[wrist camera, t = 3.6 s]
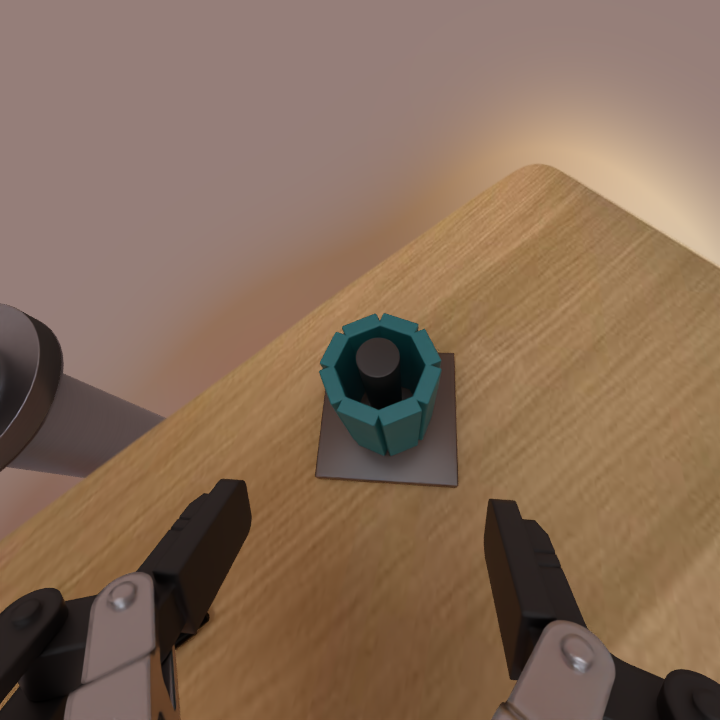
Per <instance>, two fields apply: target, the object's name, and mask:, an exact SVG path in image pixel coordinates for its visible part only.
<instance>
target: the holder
mask: <svg viewBox="0 0 720 720" xmlns="http://www.w3.org/2000/svg"><path fill="white" fill-rule="evenodd" d="M438 355H439V356H440V358H441V366H440V368H441V369H442V372H441V376H440V381H439V385H438V390H437V395H436V399H435V404H434V408H433V413H432V417H431V419H430V422H429V424H428V427H427V430H426V432H425V435H424V437H423V440H419V439H418V445H417V446H415V447H412V448H410V449H407V450H405V451H403V452H400V453H398V454H395V455H393V456H390V453H389V451H388V449H387V452H386V454H385V456H383V455H381V454H378V453H376V452H374V451H371V450H369V449H367V448H364V447H362V446H360V445H358V443H357V442H356V440H354V439H353V438H352V436H351V435H350V433H349V432H348V430H347V429H346V427H345V425H344V424H343V422H342V421H341V419H340V418H339V416H338V415H337V413H336V412H335V410H334V409H333V407H332V406H331V404H330V401H329V398H328V396H327V393H326V390H325V396H324V405H323V413H322V422H321V430H320V439H319V447H318V455H317V464H316V472H315V477H317V478H319V479H332V480H347V481H362V482H376V483H391V484H406V485H421V486H436V487H451V488H456V487H457V486H458V463H457V430H456V397H455V365H454V353H438ZM356 363H357V367H358V370H359V373H360V376H361V379H362V382H363V385H364V388H365V393H364V395H363V397H362V399H361V401H360V403H363V404H365V405H368V406H370V407H373V408H375V409H378V410H380V409H382V408H385V407H387V406H390V405H392V404H395V403H397V402H400V401H402V400H405V399H407V398H410V397H412V396H413V395H412V393H411V391H410V389H407V388H404V387H402V386H401V370H400V354H399V350H398V348H397V347H396V345H395V344H394V343H392V342H391V341H390V340H387V339H384V338H373V339H370V340H367V341H366V342H364V343H363V344H362V345H361V346H360V347H359V349H358V351H357V354H356Z"/></svg>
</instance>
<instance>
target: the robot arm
mask: <svg viewBox="0 0 720 720" xmlns="http://www.w3.org/2000/svg"><path fill="white" fill-rule="evenodd" d="M251 520H252V516H251V509H250V504H249V498H248V492H247V487H246V483H245V481H243V480H232V479H221V480H219V481H218V483H217V484H216V485H215V487H214V488H213V489H212V491H211V492H210V493H209V494H205V493H204V494H202V495H201V496H200V497H198V498H197V499H196V500H194V501H193V502H192V503H190V504H189V505H188V507H187V508H186V509H185V510H184V512H183V513H182V514H181V515H180V518H179V519H177V521H176V522H175V523H174V524H173V526H172V527H171V530H169V531H168V532H167V533H166V535H165V536H164V537H163V538H162V540H161V541H160V542H159V543H158V545H157V546H156V547H155V548H154V550H153V551H152V552H151V554H150V555H149V556H148V557H147V559H146V560H145V561H144V562H143V564H142V565H141V566H140V568H139V569H138V570H137V571H136V572H133V573H129V574H126V575H123V576H121V577H119V578H117V579H115V580H114V581H112V582H111V583H109V584H108V585H107V586H106V587H105V588H103V590H102V591H101V592H100V593H99V594H98V595H94V596H89V597H84V598H79V599H74V600H69V601H64V599H63V597H62V595H61V593H60V591H59V590H57V589H55V588H44V589H39V590H36V591H33V592H31V593H29V594H27V595H25V596H23V597H21V598H19V599H18V600H16V601H15V602H13V603H12V604H11V605H9V606H8V607H7V608H6V609H5V610H4V611H3V612H1V613H0V703H1V702H2V701H3V700H4V698H5V697H6V696H7V695H8V693H9V692H10V691H11V690H12V688H13V687H14V686H15V685H16V683H17V682H18V684H19V685H20V686H19V688H18V689H17V690H16V691H15V693H14V694H13V695H12V697H11V698H10V699H9V700H8V702H7V703H6V704H5V705H4V707H3V708H2V709H1V710H0V720H181V717H180V705H179V692H178V679H177V667H176V654H175V647H174V643H175V642H176V640H177V638H178V636H179V635H180V633H181V632H182V633H189V634H196V632H197V630H198V628H199V627H200V625H201V623H202V621H203V619H204V617H205V615H206V613H207V611H208V609H209V608H210V606H211V604H212V602H213V600H214V598H215V596H216V594H217V592H218V591H219V589H220V587H221V585H222V583H223V581H224V579H225V577H226V575H227V573H228V572H229V570H230V568H231V566H232V564H233V562H234V560H235V558H236V556H237V554H238V553H239V551H240V549H241V547H242V545H243V543H244V541H245V539H246V537H247V535H248V533H249V530H250V527H251ZM484 552H485V559H486V564H487V569H488V574H489V579H490V584H491V589H492V593H493V598H494V603H495V608H496V613H497V618H498V623H499V628H500V632H501V637H502V642H503V647H504V652H505V657H506V662H507V667H508V671H509V676H510V679H511V680H518V681H517V683H516V685H515V687H514V689H513V691H512V692H511V694H510V696H509V698H508V700H507V701H506V702H505V703H504V702H502V703H501V704H500V706H499V707H498V709H497V710H496V712H495V714H494V716H493V717H492V719H491V720H720V684H718V683H717V682H715V681H713V680H712V679H710V678H708V677H706V676H704V675H702V674H700V673H697V672H694V671H690V670H684V669H679V670H674V671H671V672H670V673H669V674H668V675H667V676H666V678H665V679H663V678H661V677H658V676H656V675H654V674H651V673H649V672H647V671H644V670H642V669H639V668H637V667H635V666H632V665H630V664H628V663H626V662H624V661H622V660H620V659H619V658H617V657H615V656H614V655H613V654H611V653H610V652H609V651H608V649H607V648H606V647H605V645H604V644H603V643H602V642H601V641H600V639H599V638H598V637H597V636H595V635H594V634H593V633H592V632H590V631H589V630H588V628H587V626H586V624H585V622H584V620H583V617H582V615H581V613H580V610H579V608H578V605H577V603H576V601H575V598H574V596H573V593H572V591H571V589H570V586H569V584H568V582H567V579H566V577H565V574H564V572H563V570H562V569H561V565H560V562H559V560H558V558H557V555H555V550H554V548H553V546H552V543H551V541H550V538H549V536H548V534H547V533H546V532H545V531H544V530H543V529H542V528H541V527H540V525H539V524H538V523H537V522H536V521H535V520H525V519H522V517H521V515H520V512H519V509H518V506H517V504H516V502H515V501H513V500H499V499H489V501H488V507H487V515H486V524H485V532H484Z"/></svg>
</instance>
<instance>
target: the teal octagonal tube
mask: <svg viewBox="0 0 720 720" xmlns="http://www.w3.org/2000/svg"><path fill="white" fill-rule="evenodd" d="M342 329H343V332H344V334H341V333H338V332H336V333H335V334H334V336H333V338H332V340H331V342H330V344H329V346H328V348H327V350H326V352H325V354H324V356H323V358H322V359H321V361H320V364H321V366H322V368H323V369H322V370H320V371H319V373H320V376H321V379H322V382H323V384H324V387H325V390H326V393H327V396H328V398H329V401H330V404H331V406H332V407H333V409H334V410H335V412H336V413H337V415H338V416H339V418H340V419H341V421H342V422H343V424H344V425H345V427H346V429H347V430H348V432H349V433H350V435H351V436H352V438H353V439H354V440H356V442H357V443H358V445H360V446H362V447H364V448H367V449H369V450H371V451H374V452H376V453H378V454H381V455H383V456H385V454H386V452H387V449H388V451H389V453H390V456H393V455H395V454H398V453H400V452H403V451H405V450H407V449H410V448H412V447H415V446H417V445H418V439H419V440H423V437H424V435H425V432H426V430H427V427H428V424H429V422H430V419H431V417H432V413H433V408H434V404H435V399H436V395H437V390H438V385H439V381H440V376H441V372H442V369H441V368H440V366H441V358H440V356H439V355H438V353H437V351H436V349H435V347H434V345H433V343H432V341H431V340H430V338H429V336H428V334H427V332H426V330H425V329H423V330H420V331H418V324H417V323H414V322H410V321H407V320H404V319H401V318H398V317H395V316H392V315H389V314H386V313H384V314H383V315H382V318H381V320H380V321H379V318H378V316H377V315H376V314H373V315H370V316H367V317H365V318H362V319H360V320H357V321H355V322H352V323H350V324H347V325H344V326H343V327H342ZM373 338H384V339H387V340H390V341H391V342H392V343H394V344H395V345H396V347H397V348H398V350H399V354H400V370H401V386H402V387H404V388H407V389H410V391H411V393H412V395H413V396H412V397H410V398H407V399H405V400H402V401H400V402H397V403H395V404H392V405H390V406H387V407H385V408H382V409H380V410H378V409H375V408H373V407H370V406H368V405H365V404H363V403H360V401H361V399H362V397H363V395H364V393H365V388H364V385H363V382H362V379H361V376H360V373H359V370H358V367H357V363H356V354H357V351H358V349H359V347H360V346H361V345H362V344H363V343H364V342H366V341H367V340H370V339H373Z"/></svg>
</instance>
